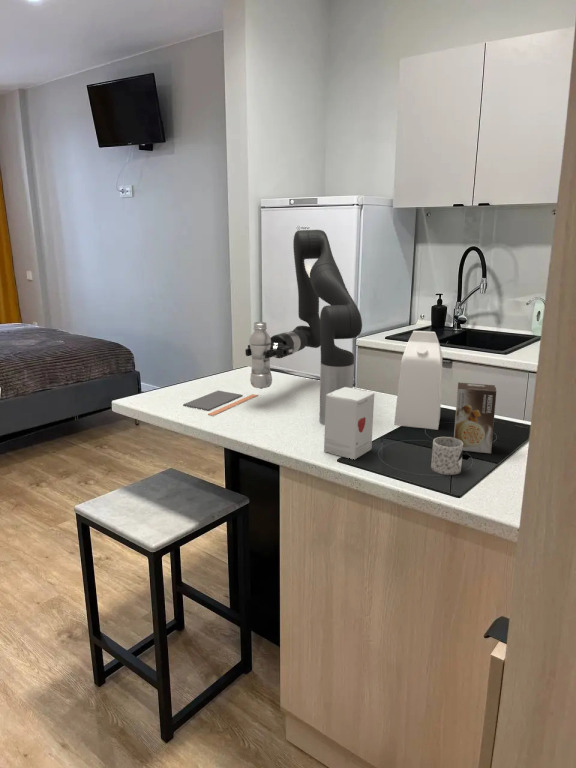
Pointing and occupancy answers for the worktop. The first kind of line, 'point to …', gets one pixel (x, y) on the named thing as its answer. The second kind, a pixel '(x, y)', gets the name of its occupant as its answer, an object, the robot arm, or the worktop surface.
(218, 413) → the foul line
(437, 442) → the mug
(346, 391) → the supplement box
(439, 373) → the milk
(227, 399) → the mat
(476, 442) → the brown food box
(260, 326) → the plastic bottle
